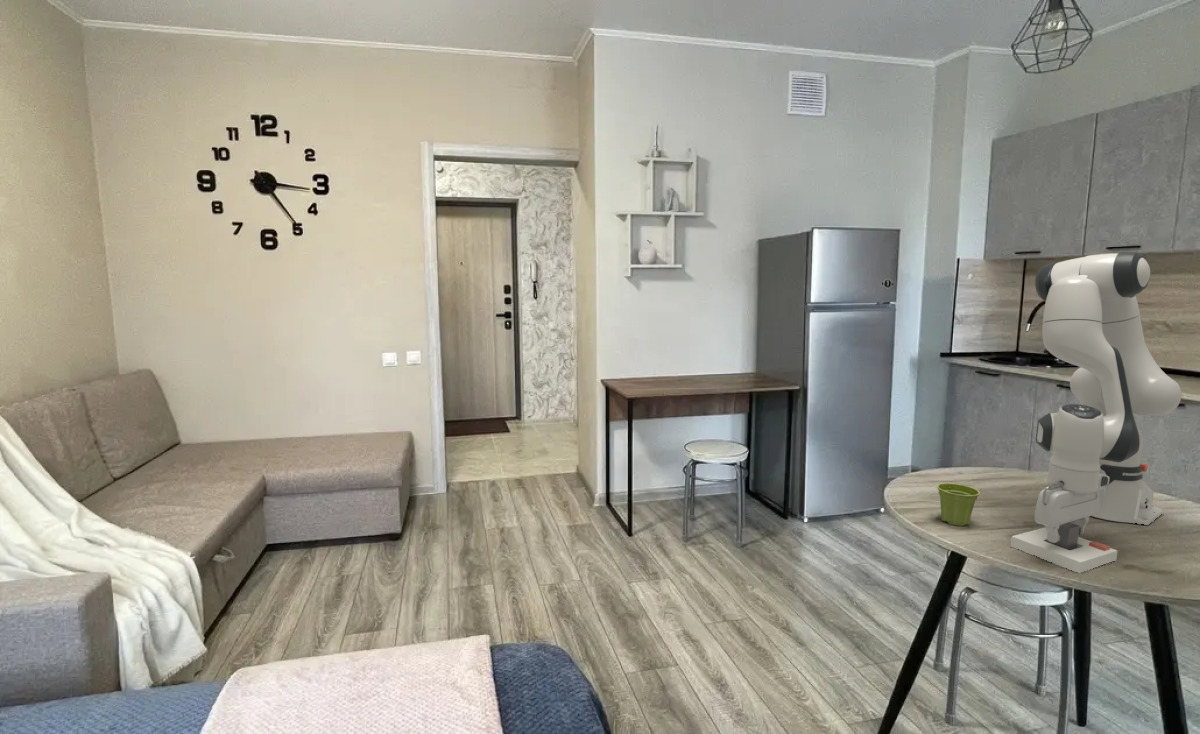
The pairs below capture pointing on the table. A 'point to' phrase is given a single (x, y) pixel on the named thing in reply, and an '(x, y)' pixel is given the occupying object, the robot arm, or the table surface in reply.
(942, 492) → the plant pot
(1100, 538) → the table surface
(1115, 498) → the robot arm
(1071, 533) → the plug
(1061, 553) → the socket plate
